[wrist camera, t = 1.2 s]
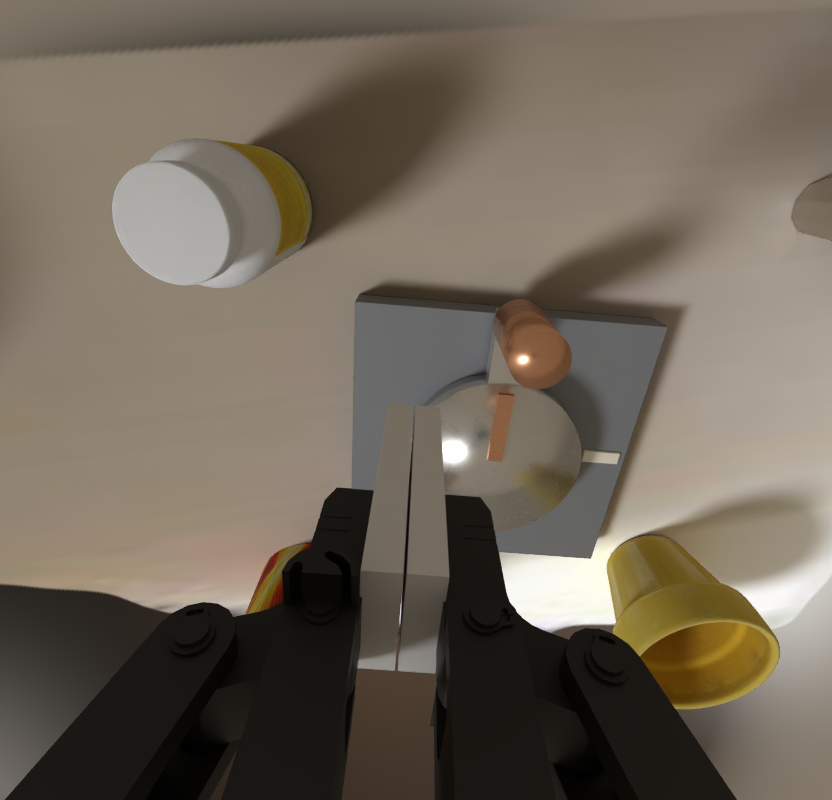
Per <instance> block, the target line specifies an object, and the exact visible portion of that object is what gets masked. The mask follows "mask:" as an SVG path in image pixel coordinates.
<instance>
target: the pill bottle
mask: <svg viewBox="0 0 832 800" xmlns="http://www.w3.org/2000/svg"><path fill="white" fill-rule="evenodd" d="M112 213H113V221H114V225H115V229H116V232H117V235H118V237H119V239H120V241H121V243H122V245H123V247H124V248H125V250H126V251H127V253H128V254H129V255H130V257H131V258H132V259H133V260H134V261H135V262H136V263H137V264H138V265H139V266H140V267H141V268H142V269H143V270H145V271H146V272H147V273H149V274H151V275H152V276H154V277H156V278H158V279H160V280H162V281H165V282H168V283H172V284H176V285H195V284H199V285H202V286H207V287H214V288H228V287H235V286H239V285H242V284H245V283H247V282H249V281H251V280H253V279H255V278H256V277H258V276H259V275H261V274H262V273H264V272H265V271H267V270H268V269H270V268H271V267H273V266H274V265H276V264H278V263H279V262H281V261H282V260H284V259H286V258H287V257H289V256H291V255H292V254H294V253H295V252H296V251H298V250H299V249H300V248H301V247H302V245H303V244H304V243H305V242H306V240H307V238H308V236H309V234H310V232H311V229H312V226H313V221H314V203H313V198H312V194H311V191H310V188H309V186H308V184H307V182H306V180H305V178H304V176H303V175H302V174H301V172H300V171H299V170H298V168H297V167H296V166H295V165H294V164H293V163H292V162H291V161H289V160H288V159H287V158H286V157H284V156H283V155H281V154H279V153H277V152H275V151H273V150H270V149H267V148H264V147H259V146H252V145H245V144H238V143H231V142H223V141H215V140H208V139H185V140H180V141H176V142H173V143H171V144H168V145H166V146H165V147H163V148H161V149H160V150H159V151H157V152H156V153H155V154H154V155H153V156H152V157H151V158H150V159H149V161H148V162H146V163H142V164H140V165H137V166H135V167H134V168H132V169H131V170H130V171H128V172H127V173H126V174H125V175H124V176H123V178H122V179H121V180H120V182H119V183H118V185H117V187H116V190H115V193H114V197H113V204H112Z"/></svg>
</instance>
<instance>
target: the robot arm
mask: <svg viewBox="0 0 832 800" xmlns="http://www.w3.org/2000/svg"><path fill="white" fill-rule="evenodd" d="M412 417H413V405H403V404H390V403H388V409H387V415H386V421H385V427H384V433H383V439H382V445H381V451H380V457H379V463H378V469H377V475H376V481H375V487H374V490H363V489H350V488H336V489H335V490H334V491H333V492H332V493H331V494H330V495H329V496H328V497H327V498H326V499H325V501H324V504H323V508H322V511H321V514H320V519H319V520H318V524H317V527H316V531H315V533H314V536H313V540H312V543H311V546H310V548H308V549H306V550H303V551H300V552H299V553H297V554H296V555H295V556H293V557H292V558H291V559H289V560H288V562H287V563H286V565H285V567H284V568H283V570H282V582H283V596H284V601H282V602H281V603H279V604H277V605H275V606H273V607H272V608H269V609H266V610H263V611H259V612H255V613H250V614H246V615H241V616H236V617H233V616H232V614H231V613H230V611H229V610H228V609H226V608H225V607H223V606H221V605H219V604H215V603H206V602H203V603H198V604H193V605H188V606H186V607H184V608H182V609H180V610H178V611H176V612H174V613H172V614H171V615H170V616H168V617H167V618H166V619H165V620H164V621H163V622H161V623H160V624H159V625H158V626H157V627H156V629H155V630H154V631H153V632H152V633H151V634H150V635H149V637H148V638H147V639H146V640H145V641H144V642H143V643H142V644H141V646H140V647H139V648H138V649H137V650H136V651H135V652H134V654H133V655H132V656H131V657H130V658H129V659H128V660H127V662H126V663H125V664H124V665H123V666H122V667H121V668H120V669H119V671H118V672H117V673H116V674H115V675H114V676H113V677H112V679H111V680H110V681H109V682H108V683H107V684H106V685H105V687H104V688H103V689H102V690H101V691H100V692H99V693H98V694H97V696H96V697H95V698H94V699H93V700H92V701H91V702H90V704H89V705H88V706H87V707H86V708H85V709H84V710H83V712H82V713H81V714H80V715H79V716H78V717H77V718H76V719H75V721H74V722H73V723H72V724H71V725H70V726H69V727H68V729H67V730H66V731H65V732H64V733H63V734H62V735H61V737H60V738H59V739H58V740H57V741H56V742H55V743H54V745H53V746H52V747H51V748H50V749H49V750H48V751H47V752H46V754H45V755H44V756H43V757H42V758H41V759H40V761H39V762H38V763H37V764H36V765H35V766H34V767H33V769H31V771H30V772H29V773H28V774H27V775H26V776H25V778H24V779H23V780H22V781H21V782H20V783H19V784H18V785H17V787H16V788H15V789H14V790H13V791H12V792H11V794H9V796H8V797H7V798H6V799H5V800H210V798H211V796H212V794H213V793H214V791H215V789H216V787H217V785H218V783H219V782H220V780H221V778H222V776H223V774H224V772H225V771H226V769H227V767H228V765H229V763H230V762H231V760H232V758H233V756H234V754H235V752H236V751H237V752H236V756H235V759H234V762H233V765H232V768H231V771H230V774H229V777H228V780H227V784H226V787H225V790H224V793H223V796H222V799H221V800H342V794H343V787H344V779H345V771H346V763H347V755H348V748H349V740H350V733H351V725H352V717H353V709H354V702H355V682H356V675H357V668H366V669H379V670H393V671H394V670H395V659H396V649H397V638H398V627H399V615H400V604H401V593H402V608H401V625H400V643H399V661H398V671H408V672H422V673H435V669H436V677H437V679H436V682H437V687H436V693H435V700H434V706H433V712H432V718H431V725H430V726H434V785H435V786H434V793H435V794H434V795H435V800H737V799H736V798H735V796H734V795H733V793H732V792H731V790H730V789H729V788H728V786H727V785H726V783H725V782H724V780H723V779H722V777H721V776H720V774H719V773H718V771H717V770H716V768H715V767H714V765H713V764H712V763H711V761H710V760H709V758H708V757H707V755H706V754H705V752H704V751H703V749H702V748H701V746H700V745H699V743H698V742H697V740H696V739H695V737H694V736H693V734H692V733H691V732H690V730H689V729H688V727H687V725H686V724H685V723H684V721H683V720H682V718H681V717H680V715H679V714H678V712H677V711H676V709H675V708H674V706H673V705H672V703H671V702H670V700H669V699H668V697H667V696H666V694H665V693H664V691H663V690H662V688H661V687H660V685H659V684H658V683H657V681H656V680H655V678H654V677H653V675H652V674H651V672H650V671H649V669H648V668H647V666H646V665H645V663H644V662H643V660H642V659H641V657H640V656H639V655H638V654H637V653H636V652H635V651H634V649H633V648H632V647H631V646H630V645H629V644H628V643H626V642H625V641H623V640H622V639H620V638H619V637H618V636H616V635H615V634H612V633H609V632H606V631H604V630H601V629H588V628H585V629H583V630H580V631H577V632H575V633H574V634H573V635H572V636H571V637H570V639H569V640H568V639H565V638H562V637H560V636H557V635H554V634H552V633H549V632H546V631H543V630H541V629H539V628H537V627H535V626H533V625H531V624H530V623H528V622H527V621H526V620H524V619H523V618H522V617H521V616H520V615H519V614H518V613H517V612H516V609H515V608H514V607H513V606H512V605H511V603H510V602H509V599H508V596H507V593H506V588H505V583H504V578H503V572H502V567H501V562H500V557H499V551H498V546H497V543H496V535H495V530H494V525H493V519H492V514H491V511H490V509H489V508H488V507H487V505H486V504H485V503H484V501H483V500H482V499H481V497H473V496H460V495H446V494H445V487H444V469H443V451H442V433H441V415H440V407H429V406H416V405H415V415H414V427H413V439H412V450H411V434H412ZM410 451H411V462H410ZM409 468H410V474H409ZM408 485H409V488H408ZM407 501H408V505H407ZM406 518H407V522H406ZM405 535H406V540H405ZM404 552H405V557H404ZM403 569H404V574H403ZM402 582H403V591H402Z"/></svg>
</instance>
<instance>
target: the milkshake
mask: <svg viewBox="0 0 832 800" xmlns="http://www.w3.org/2000/svg"><path fill="white" fill-rule="evenodd" d="M792 220H793V222H794V224H795V226H796V228H797V230H798V232H801V233H805V234H808V235H812V236H816V237H819V238H823V239H827V240H830V241H832V176H831V177H827V178H825V179H822V180H820V181H817V182H815V183H812V184H810V185H809V186H808V187H807V188H806V189H805V191H804V192H803V193H802V194H801V195H800V196H799V197H798V199H797V200H796V201H795V206H794V210H793V214H792Z"/></svg>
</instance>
